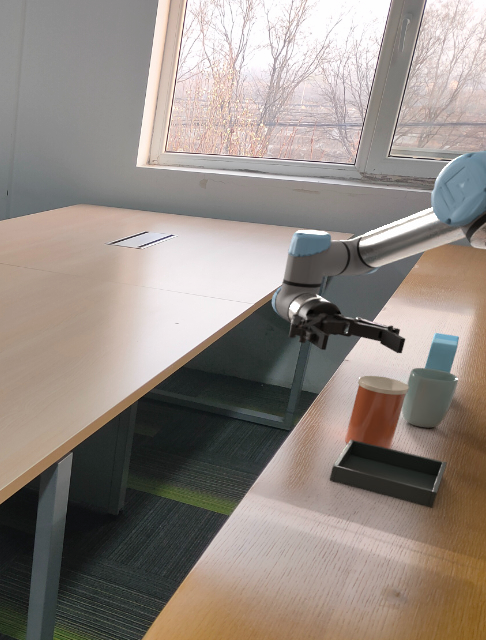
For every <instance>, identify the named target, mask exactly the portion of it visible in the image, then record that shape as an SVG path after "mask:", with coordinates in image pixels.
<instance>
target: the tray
mask: <svg viewBox="0 0 486 640" xmlns="http://www.w3.org/2000/svg"><path fill="white" fill-rule="evenodd" d="M447 464H448V462H447V461H442V460H438V459H435V458H430V457H425V456H422V455H417V454H413V453H409V452H405V451H401V450H397V449H393V448H391V449H389V448H384V447H380V446H376V445H372V444H368V443H363V442H359V441H355V440H350V441H349V443H348V444H347V443H346V446H345V447H344V449H343V450H342V452H341V453H340V455H339V456H338V458H337V459H336V460H335V462H334V464H333V465H332V468H331V473H330V477H329V481H331V482H334V483H337V484H340V485H345V486H349V487H352V488H356V489H359V490H363V491H368V492H371V493H375V494H379V495H382V496H386V497H389V498H393V499H398V500H401V501H405V502H409V503H412V504H416V505H420V506H424V507H426V508H433V507H434V503H435V501H436V499H437V498H436V497H437V494H438V491H439V489H440V485H441V483H442V479H443V476H444V473H445V470H446V467H447Z"/></svg>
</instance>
